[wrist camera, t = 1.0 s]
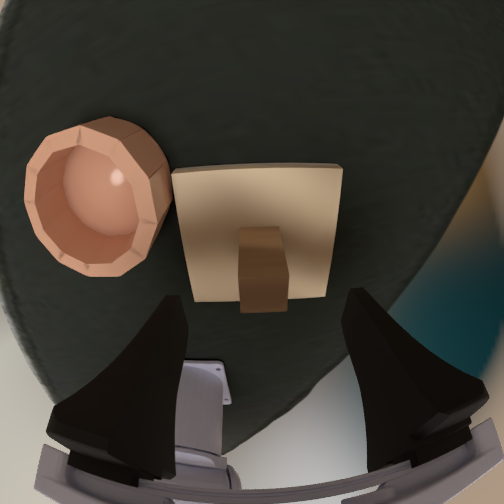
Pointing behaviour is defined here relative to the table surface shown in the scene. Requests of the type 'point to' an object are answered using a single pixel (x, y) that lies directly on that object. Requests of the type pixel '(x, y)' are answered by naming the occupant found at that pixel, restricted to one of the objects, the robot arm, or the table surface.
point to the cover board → (252, 207)
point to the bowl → (98, 195)
